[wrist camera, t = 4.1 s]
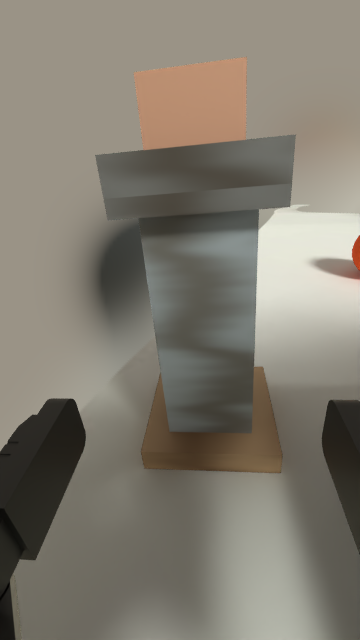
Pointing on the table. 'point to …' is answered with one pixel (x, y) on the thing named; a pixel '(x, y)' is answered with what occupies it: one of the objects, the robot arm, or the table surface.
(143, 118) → the cargo block
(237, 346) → the grey pedestal column
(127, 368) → the table surface
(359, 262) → the clementine
